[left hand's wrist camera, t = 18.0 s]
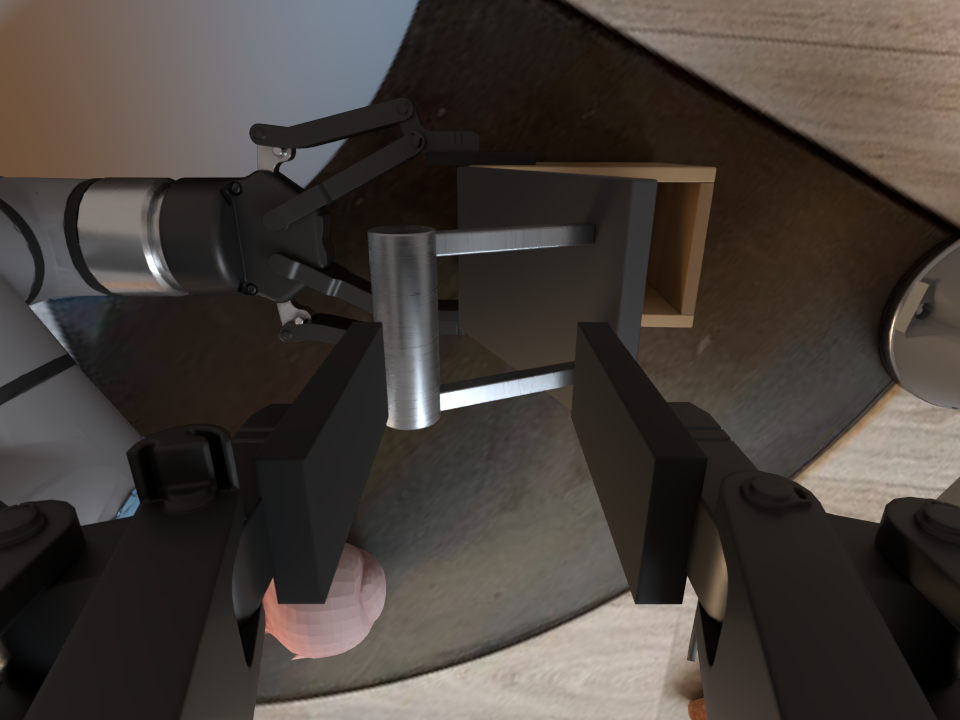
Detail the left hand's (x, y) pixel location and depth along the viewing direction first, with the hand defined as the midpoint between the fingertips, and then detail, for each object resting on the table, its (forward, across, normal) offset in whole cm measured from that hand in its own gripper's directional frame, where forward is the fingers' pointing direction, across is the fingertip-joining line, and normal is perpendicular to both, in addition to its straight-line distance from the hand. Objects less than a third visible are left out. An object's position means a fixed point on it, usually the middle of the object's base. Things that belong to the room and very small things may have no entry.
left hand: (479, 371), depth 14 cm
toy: (+29, -16, -33) cm, 47 cm away
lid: (+11, +3, 0) cm, 12 cm away
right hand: (+23, +3, 0) cm, 23 cm away
